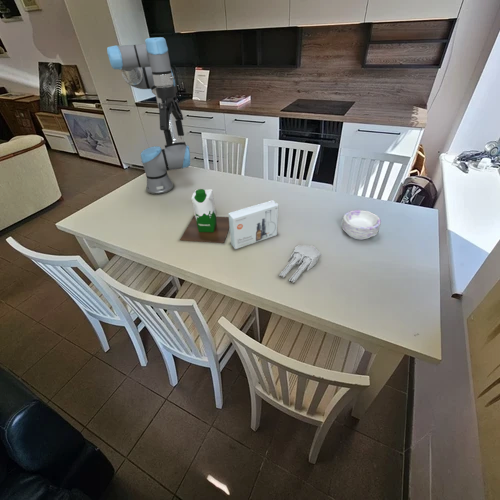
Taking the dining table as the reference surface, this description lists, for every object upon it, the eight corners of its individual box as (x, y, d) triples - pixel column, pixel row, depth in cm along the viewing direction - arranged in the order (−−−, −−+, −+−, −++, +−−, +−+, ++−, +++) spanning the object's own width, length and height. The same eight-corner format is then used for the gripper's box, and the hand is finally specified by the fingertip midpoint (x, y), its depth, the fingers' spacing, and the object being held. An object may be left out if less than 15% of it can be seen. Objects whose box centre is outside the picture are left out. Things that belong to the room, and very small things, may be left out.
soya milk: (196, 233, 127) (188, 193, 115) (201, 222, 134) (194, 184, 122) (215, 233, 126) (209, 194, 114) (218, 222, 133) (213, 184, 121)
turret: (275, 278, 107) (274, 270, 103) (302, 245, 116) (302, 237, 113) (297, 289, 101) (297, 281, 98) (324, 255, 111) (325, 246, 108)
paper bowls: (351, 220, 131) (354, 205, 126) (382, 232, 122) (387, 217, 117) (333, 234, 123) (336, 219, 118) (365, 248, 114) (370, 233, 109)
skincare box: (235, 250, 117) (232, 218, 107) (230, 243, 121) (226, 212, 111) (278, 235, 124) (279, 204, 114) (271, 229, 128) (272, 198, 118)
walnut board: (194, 216, 140) (194, 215, 139) (233, 218, 137) (233, 217, 136) (180, 240, 124) (180, 239, 124) (223, 243, 121) (223, 242, 121)
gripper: (161, 92, 101) (173, 150, 114) (184, 80, 120) (192, 131, 133) (141, 92, 102) (156, 150, 116) (167, 81, 121) (177, 131, 135)
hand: (175, 140), depth 125 cm, fingers open, 13 cm apart
